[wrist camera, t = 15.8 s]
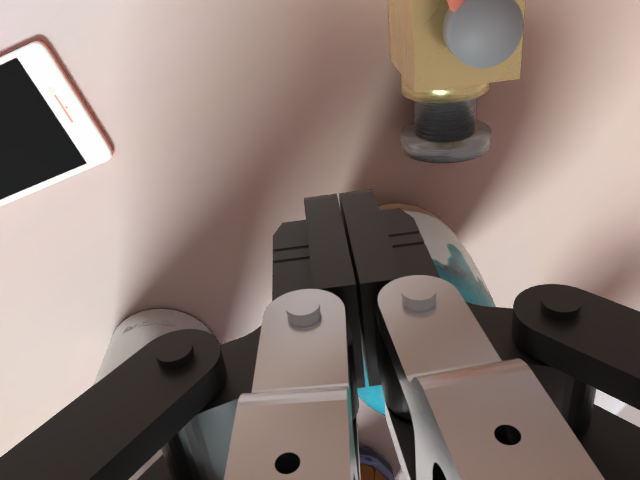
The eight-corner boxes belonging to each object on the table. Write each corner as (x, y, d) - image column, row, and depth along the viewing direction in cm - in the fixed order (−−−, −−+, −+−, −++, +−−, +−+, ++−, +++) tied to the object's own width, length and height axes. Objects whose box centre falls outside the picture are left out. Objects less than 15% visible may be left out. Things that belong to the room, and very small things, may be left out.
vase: (317, 295, 49) (338, 493, 32) (326, 180, 44) (356, 346, 27) (439, 297, 50) (520, 490, 33) (462, 185, 45) (572, 348, 28)
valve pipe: (475, 125, 42) (521, 176, 34) (394, 136, 42) (421, 188, 34) (483, -173, 33) (548, -198, 25) (380, -160, 33) (413, -181, 25)
